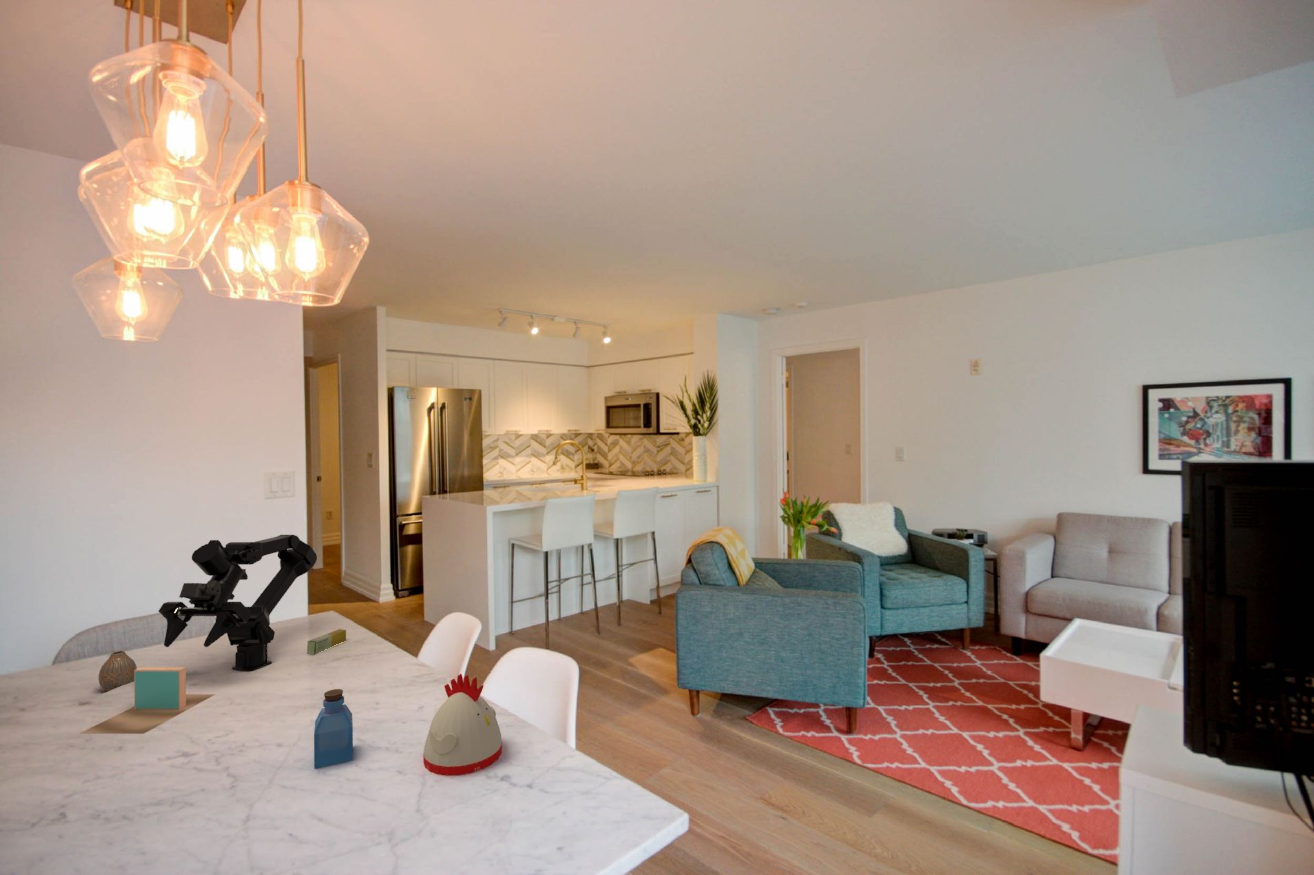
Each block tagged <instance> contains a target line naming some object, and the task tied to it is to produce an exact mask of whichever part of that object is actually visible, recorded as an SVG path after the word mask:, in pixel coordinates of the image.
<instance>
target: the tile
mask: <svg viewBox="0 0 1314 875" xmlns="http://www.w3.org/2000/svg"><path fill="white" fill-rule="evenodd" d="M186 681H187V667H185V666H184V667H181V666H180V667H179V666H178V667H177V666H175V667H174V666H173V667H171V666H170V667H169V666H168V667H164V666H163V667H157V666H156V667H152V666H151V667H150V666H148V667H147V666H146V667H145V666H144V667H143V666H141V667H138V668H137V669H136V670H134V681H133V682H134V684H133V685H134V686H133V688H134V690H133V691H134V699H133V700H134V704H133V705H134V706H133V707H134V710H181V709H182V708H184V707H186V694H187V682H186Z"/></svg>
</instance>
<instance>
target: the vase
mask: <svg viewBox="0 0 1314 875" xmlns="http://www.w3.org/2000/svg"><path fill="white" fill-rule="evenodd" d="M136 669H138V668H137V664H136V662H135V661H134V659H133V658H132V657H131V656H129V655H128V654H127V653H126V651H125V650H118V651H113V652H111V653H110V656H109V657H108V658H107V659H106V661H104V663H103V665H101V668H100V669H99V671H98V672H99V673H98V683H99V684H98V685H99V686H100V687H101V689H102V690H103V691H105V692H107V693H108V692H111V691H112V690H115V689H117V688H119V687H121V686H125V685H129V684H131V683H133V682H134V670H136Z"/></svg>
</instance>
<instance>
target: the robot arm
mask: <svg viewBox="0 0 1314 875" xmlns="http://www.w3.org/2000/svg"><path fill="white" fill-rule="evenodd" d="M276 553H277V557H278V559H279V566H280V568H279V570H278V572H277V573H276V574H275V576H274V577H273V578H272V579H271V580H270V582H269V583H267V586H266V587H265V588H264V589H263V591H262V592H261V593H260V594H259V596H258V597H257V598H256V600H255V601H254V602H253V604H252V605H251V606H245V604H243V603H242V602H241V601H231V600H234V598H235V597H236V596H235V594H234V593H233V592H234V591H235V589H236V587H237V586H238V584H239V582H240V580H242V581H246V580H248V579H249V578H248V577H249V576H248V574H247V572H246V571H247V569H246V568H242V567H241V566H242V565H246V566H247V565H253V564H256V563H258V562H259V561H261V560H262V559H263V557H264V556H267V555H268V556H269V555H271V554H276ZM317 558H318V556H317V553H316V552H315V551H314V549H313V547H312V546H311V545H309V544H307V543H305V542H304V541H302V540H301V539H300V537H299V536H298V535H295V534H279V535H277V536H274V537H270V538H266V539H261V540H257V541H231V542H227V543H226V544H225V546H224V545H223V544H222V542H221V541H220V540H219V539H211V540H209V541H208V542H207V543H206V544H203V545H202V546H200V547H198V548H197V549H195V550H194V551H193V552H192V555H191V560H192V561H193V563H194V564H195V565H197V566H198V568H199V569H200V570H201V571H202V572H203V573H204V574H205V575H207V576H211V577H210V579H209V580H207V582H206V583H204V582H203V583H202V582H185V583H183V584H182V587H181V590H180V594H179V596H178V597H179V598H181V599H184V598H185V599H188V603H189V604H190V605H194V606H193V607H188V606H187V605H186V604H185V603H184V602H183V601H167V602H164V603H163V604H162V605H161V606H160V608H159V609H158V610H157V611H158V613H159V614H160V615H161V616H162V617H163V618H164V619H165V620H166V632H165V637H164V642H163V646H164V647H165V648H169V647H170V646H171V645H172V644H173V643H174V642H175V641H176V640H177V639H178V637H179V636H180V635H181V633H182V632H183V631H185V629H186V628H187V627H188V624H187V622H190V621H191V619H192V618H193V617H215V622H214V624H213V625H212V627H211V629H210V631H209V633H208V635H207V636H206V638H205V640H204V643H203V647H204V648H208V647H210V646H211V645H213V643H215V642H217V641H218V640H219V639H220V638H222V637H223V636H225V635H226V634H227V638H228V641H229V644H230V646H236V652H235V659H234V660H235V662H234V663H235V665H233V666H232V667H231V668H232V670H237V671H246V672H252V671H255V670H257V669H260V668H262V667H265V666H269V665H270V664H272V663H273V661H272V660H268V644H270V643H272V641H273V640H274V638H275V634H276V632H275V630H274V629H273V628H272V627H271V626H270V624H271V621H270V616H271V614H272V612H273V611H274V610H275V608H276V607H277V605H278V604H279V603H280V601H281V600H282V599H283V597H284V595H285V594H286V593H287V591H288V590H289V589H290V588H291V586H292V585H293V583H294V582H295V581H296V579H297V578H299V577H300V576H303V575H304V574H306V573H308V572H309V571H310V570H311V569H312V568H313V567H314V566H315V564H316V562H317ZM240 565H241V566H240ZM229 600H230V601H229Z"/></svg>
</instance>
